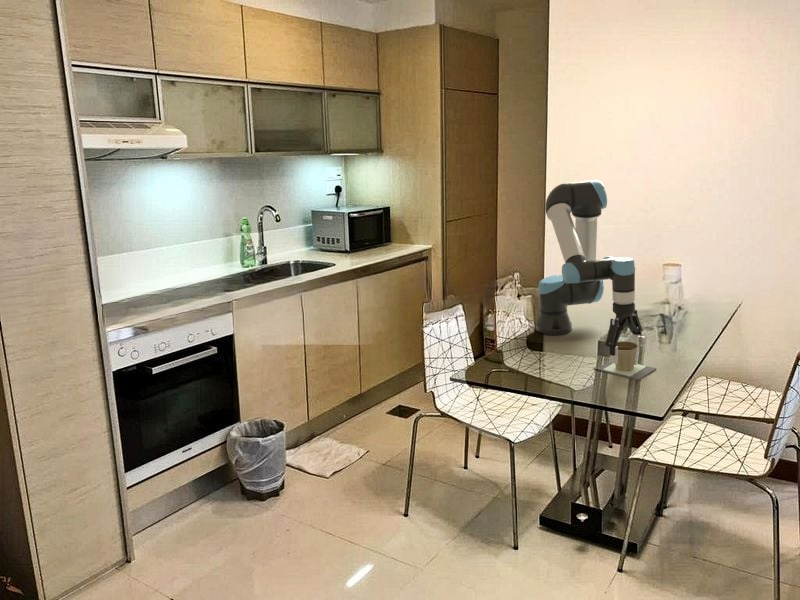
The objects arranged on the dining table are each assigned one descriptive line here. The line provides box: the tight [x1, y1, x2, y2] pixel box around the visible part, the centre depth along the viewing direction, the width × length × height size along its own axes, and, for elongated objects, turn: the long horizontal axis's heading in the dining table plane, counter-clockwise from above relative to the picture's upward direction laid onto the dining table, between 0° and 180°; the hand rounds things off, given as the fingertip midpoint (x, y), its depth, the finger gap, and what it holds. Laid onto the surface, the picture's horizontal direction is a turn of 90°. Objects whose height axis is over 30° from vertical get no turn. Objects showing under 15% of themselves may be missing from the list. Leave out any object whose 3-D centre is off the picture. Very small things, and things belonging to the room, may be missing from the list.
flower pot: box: [615, 340, 639, 371], centre depth 240 cm, size 9×9×9 cm
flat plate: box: [593, 362, 657, 381], centre depth 242 cm, size 12×18×1 cm, turn 40°
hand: (624, 357), depth 240 cm, fingers open, 13 cm apart
